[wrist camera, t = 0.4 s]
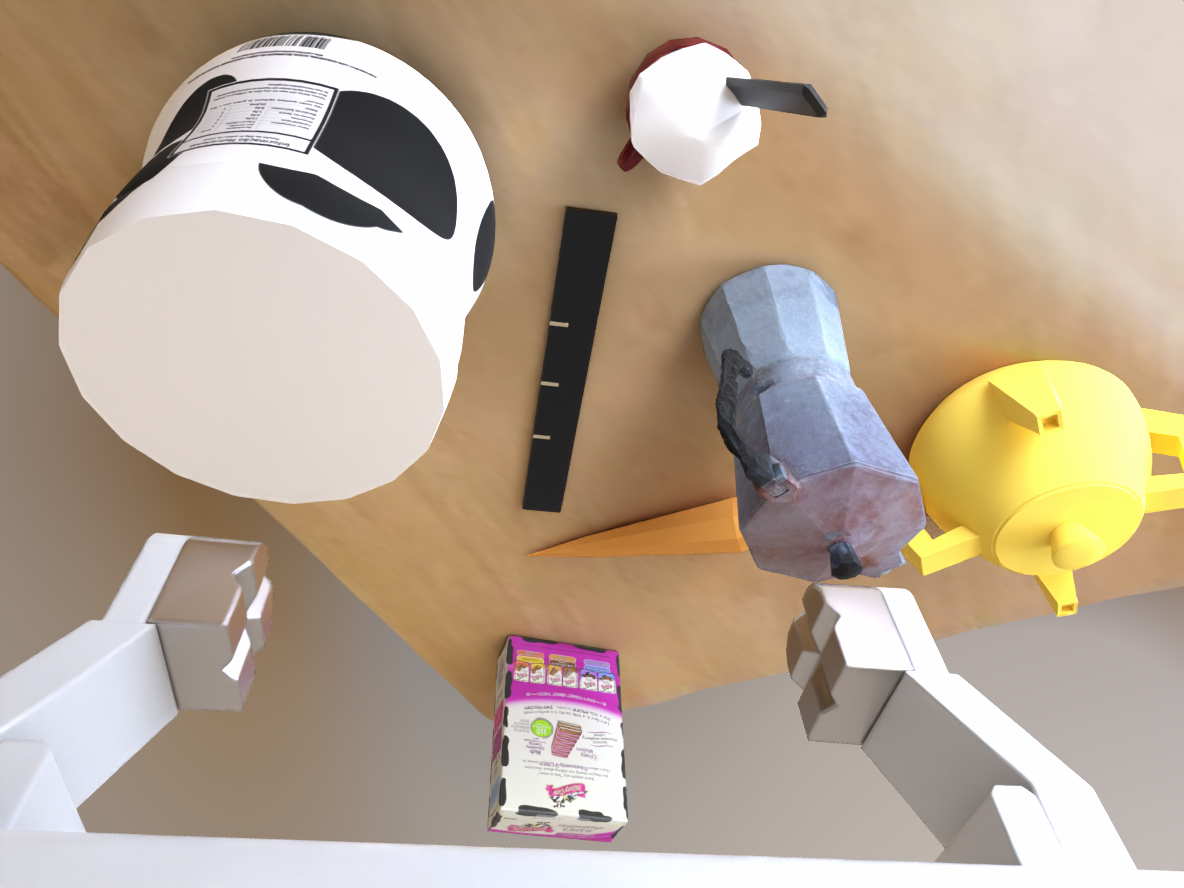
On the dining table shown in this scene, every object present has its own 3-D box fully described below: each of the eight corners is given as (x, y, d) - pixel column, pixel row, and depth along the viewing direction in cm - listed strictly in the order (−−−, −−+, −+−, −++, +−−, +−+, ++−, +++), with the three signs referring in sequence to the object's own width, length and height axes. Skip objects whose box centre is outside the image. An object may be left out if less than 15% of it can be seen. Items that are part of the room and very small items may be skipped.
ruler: (566, 206, 48) (566, 209, 48) (617, 212, 49) (617, 216, 48) (522, 505, 66) (522, 510, 66) (560, 509, 66) (560, 513, 66)
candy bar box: (496, 660, 81) (483, 833, 69) (508, 632, 78) (497, 808, 66) (605, 677, 84) (611, 846, 72) (621, 650, 80) (630, 823, 69)
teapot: (846, 474, 64) (890, 602, 56) (992, 304, 54) (1074, 430, 45) (1019, 523, 69) (1084, 649, 60) (1185, 376, 58) (1293, 503, 49)
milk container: (364, 351, 55) (301, 566, 42) (118, 158, 46) (-61, 359, 33) (563, 194, 48) (561, 397, 35) (318, -74, 38) (189, 67, 25)
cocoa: (624, 164, 47) (637, 281, 38) (584, 55, 43) (589, 158, 34) (792, 104, 45) (846, 213, 36) (767, -18, 40) (822, 72, 32)
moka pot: (781, 417, 60) (849, 660, 46) (623, 301, 53) (643, 545, 38) (892, 333, 55) (1007, 577, 41) (734, 194, 48) (805, 428, 34)
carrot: (758, 481, 66) (757, 508, 62) (769, 531, 67) (769, 560, 63) (524, 519, 71) (509, 546, 67) (539, 564, 73) (525, 593, 69)
